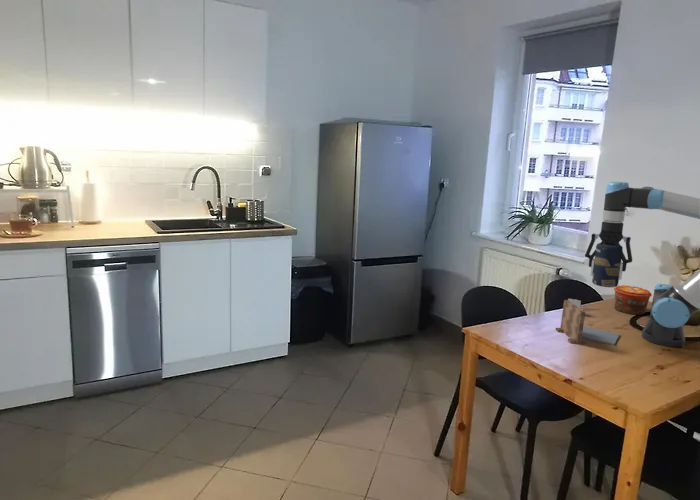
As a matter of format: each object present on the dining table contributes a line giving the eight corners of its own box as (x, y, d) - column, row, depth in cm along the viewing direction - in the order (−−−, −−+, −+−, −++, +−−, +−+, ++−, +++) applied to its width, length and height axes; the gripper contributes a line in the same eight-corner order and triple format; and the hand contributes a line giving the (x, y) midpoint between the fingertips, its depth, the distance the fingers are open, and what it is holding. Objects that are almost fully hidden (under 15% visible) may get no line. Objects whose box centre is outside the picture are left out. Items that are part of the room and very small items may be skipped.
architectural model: (566, 312, 240) (568, 296, 239) (582, 315, 237) (584, 299, 235) (565, 313, 237) (567, 298, 236) (581, 317, 234) (583, 301, 232)
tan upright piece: (554, 329, 214) (558, 299, 211) (568, 329, 214) (573, 300, 211) (571, 343, 198) (575, 312, 196) (586, 344, 198) (591, 312, 196)
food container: (604, 305, 252) (607, 284, 250) (633, 305, 254) (637, 285, 252) (624, 316, 237) (628, 294, 235) (656, 316, 239) (660, 294, 237)
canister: (622, 289, 199) (628, 244, 196) (598, 288, 199) (604, 243, 196) (610, 283, 208) (616, 240, 205) (587, 282, 208) (592, 239, 205)
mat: (619, 335, 210) (619, 334, 210) (614, 345, 199) (614, 343, 199) (583, 327, 218) (583, 326, 218) (576, 336, 207) (576, 335, 206)
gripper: (645, 223, 196) (638, 279, 200) (584, 217, 208) (577, 271, 212) (644, 225, 190) (636, 283, 194) (580, 219, 202) (574, 274, 206)
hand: (605, 277), depth 203 cm, fingers closed on canister, 9 cm apart
